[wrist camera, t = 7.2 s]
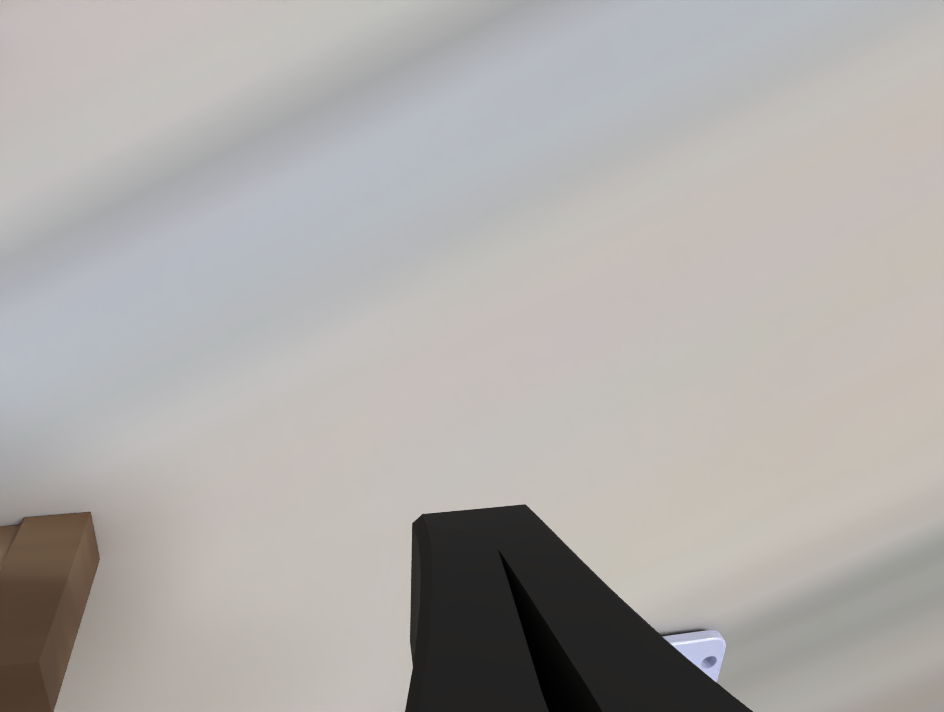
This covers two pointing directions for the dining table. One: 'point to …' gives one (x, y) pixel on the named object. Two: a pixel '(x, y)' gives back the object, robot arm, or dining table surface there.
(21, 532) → the crate
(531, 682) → the robot arm
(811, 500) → the dining table surface
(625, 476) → the dining table surface
